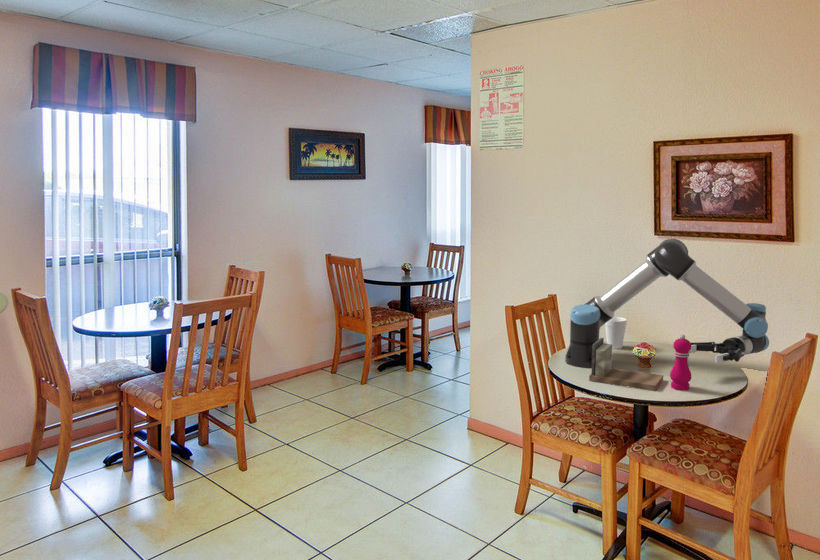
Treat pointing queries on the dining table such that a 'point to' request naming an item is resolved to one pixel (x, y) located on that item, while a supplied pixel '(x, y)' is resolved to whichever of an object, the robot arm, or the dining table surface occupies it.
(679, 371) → the pepper mill
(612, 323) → the foam cup
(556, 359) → the dining table surface
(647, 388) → the wooden bookend
